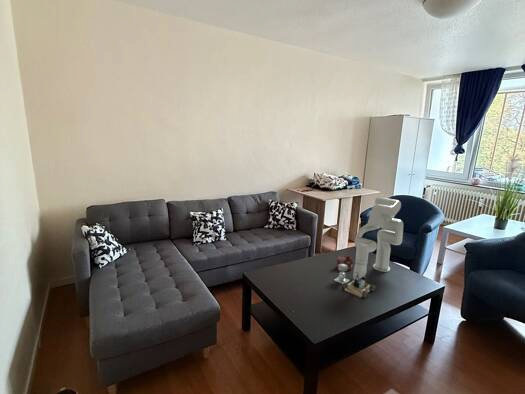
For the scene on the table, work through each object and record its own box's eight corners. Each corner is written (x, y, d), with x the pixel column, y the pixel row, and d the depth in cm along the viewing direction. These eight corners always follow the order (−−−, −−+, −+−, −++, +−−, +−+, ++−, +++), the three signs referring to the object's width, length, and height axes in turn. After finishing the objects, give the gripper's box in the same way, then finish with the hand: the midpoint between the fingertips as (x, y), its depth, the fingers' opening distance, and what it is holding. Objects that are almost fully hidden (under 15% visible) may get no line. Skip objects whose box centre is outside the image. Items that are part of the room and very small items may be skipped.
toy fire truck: (353, 271, 213) (354, 258, 211) (336, 269, 215) (337, 257, 213) (351, 267, 220) (352, 254, 218) (335, 265, 222) (336, 253, 219)
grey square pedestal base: (339, 276, 204) (340, 269, 202) (349, 280, 198) (350, 273, 197) (333, 280, 198) (334, 272, 197) (343, 284, 193) (344, 276, 191)
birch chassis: (353, 281, 198) (354, 275, 197) (375, 290, 187) (376, 284, 186) (341, 289, 187) (342, 283, 186) (364, 299, 176) (364, 293, 175)
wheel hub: (341, 266, 200) (341, 262, 200) (348, 269, 196) (349, 265, 195) (336, 269, 196) (337, 265, 196) (344, 272, 192) (344, 268, 191)
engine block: (357, 285, 190) (358, 277, 189) (364, 288, 187) (365, 279, 185) (353, 288, 187) (354, 279, 185) (360, 291, 183) (361, 282, 182)
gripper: (362, 255, 191) (360, 278, 195) (349, 262, 179) (347, 287, 183) (373, 258, 186) (370, 282, 189) (360, 266, 174) (358, 292, 178)
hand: (359, 284), depth 186 cm, fingers open, 7 cm apart
